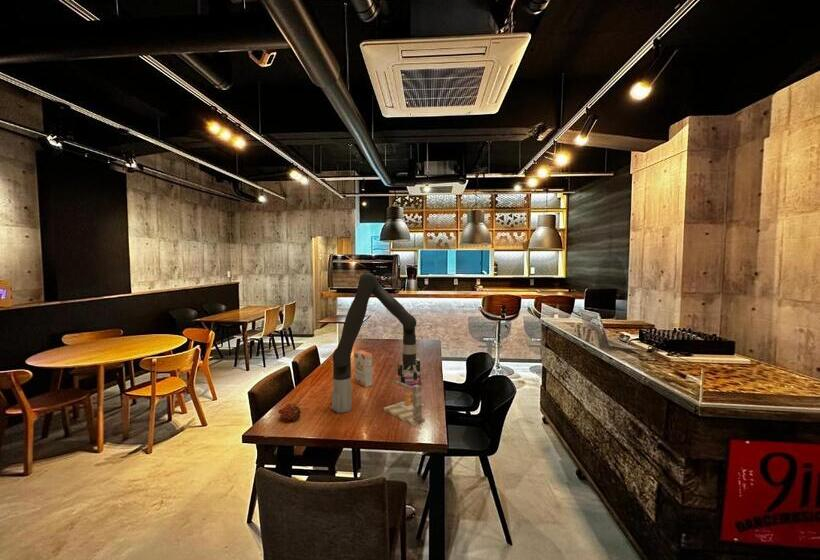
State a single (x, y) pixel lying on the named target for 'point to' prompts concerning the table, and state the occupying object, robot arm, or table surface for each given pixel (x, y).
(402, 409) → the hook stand
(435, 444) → the table surface
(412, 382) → the candy bar box
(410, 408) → the mat
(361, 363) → the cracker box
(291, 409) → the brown rounded piece
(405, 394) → the loop
